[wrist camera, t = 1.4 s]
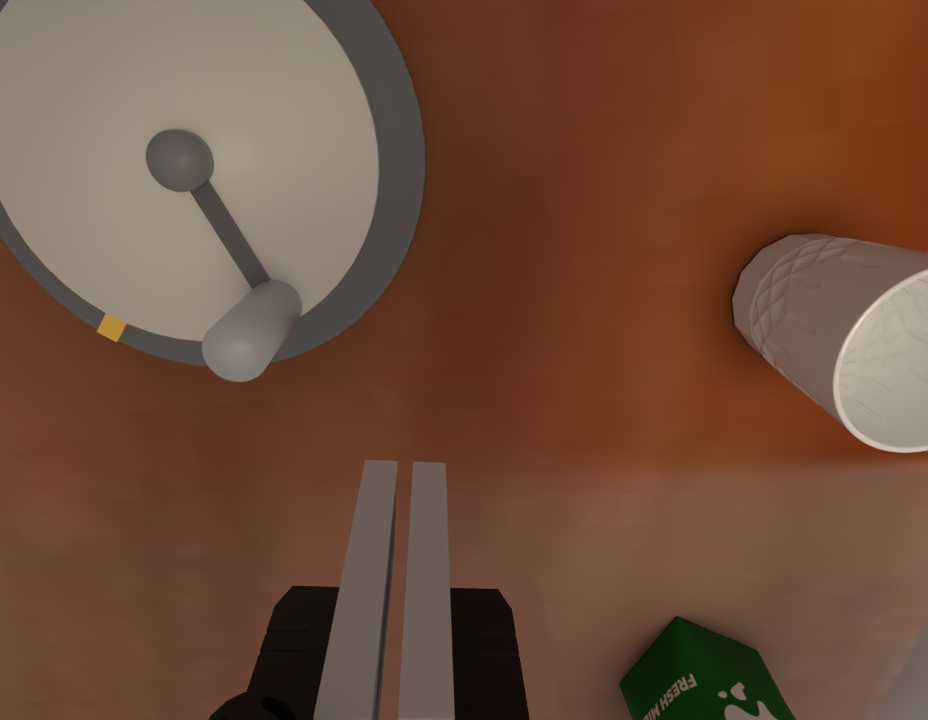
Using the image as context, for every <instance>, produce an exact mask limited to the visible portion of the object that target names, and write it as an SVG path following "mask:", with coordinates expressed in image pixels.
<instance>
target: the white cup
mask: <svg viewBox="0 0 928 720" xmlns="http://www.w3.org/2000/svg"><path fill="white" fill-rule="evenodd" d="M732 305H733V314H734V322H735V326H736V327H737V329H738V330H739V332H740V333H741V334H742V336H743V337H744V338H745V340H746V341H747V342H748V344H749V345H750V346H751V347H752V348H754V349H755V350H756V351H757V352H759V353H760V354H761V355H762V356H763V357H764V358H765V359H766V360H767V361H768V362H769V363H770V364H771V365H772V366H773V367H774V368H775V369H776V370H777V371H778V372H780V373H781V374H782V375H783V376H784V377H785V378H787V379H788V380H789V381H790V382H791V383H792V384H793V385H794V386H795V387H796V388H798V389H799V390H800V391H801V392H802V393H804V394H805V395H806V396H807V397H809V398H810V399H811V400H812V401H813V402H815V403H816V404H817V405H818V406H819V407H821V408H822V409H823V410H824V411H825V412H827V413H828V414H829V415H830V416H831V417H833V418H834V419H835V420H836V421H837V422H839V423H840V424H841V425H842V426H843V427H845V428H846V429H847V430H848V431H849V432H851V433H852V434H853V435H854V436H855V437H857V438H858V439H859V440H861V441H862V442H864V443H866V444H868V445H870V446H872V447H875V448H878V449H881V450H885V451H891V452H901V453H908V452H920V451H926V450H928V252H923V251H918V250H913V249H909V248H904V247H899V246H894V245H888V244H882V243H874V242H869V241H865V240H858V239H849V238H839V237H834V236H830V235H825V234H820V233H814V234H796V235H788V236H786V237H784V238H782V239H781V240H779V241H777V242H775V243H773V244H771V245H769V246H767V247H765V248H763V249H761V251H760V252H759V253H758V254H757V255H756V256H755V257H754V258H753V260H752V261H751V262H750V263H749V264H748V265H747V266H746V267H745V269H744V270H743V271H742V272H741V275H740V278H739V280H738V283H737V286H736V289H735V292H734V295H733V298H732Z"/></svg>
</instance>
